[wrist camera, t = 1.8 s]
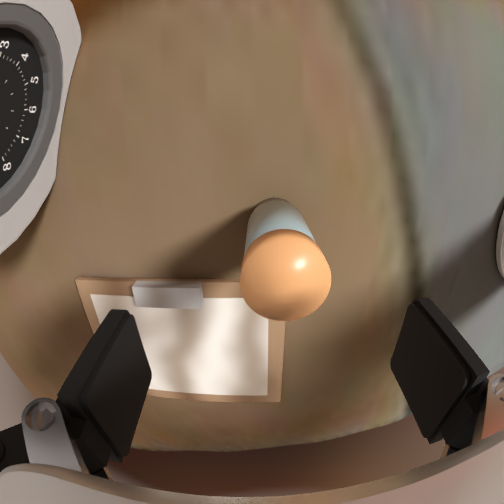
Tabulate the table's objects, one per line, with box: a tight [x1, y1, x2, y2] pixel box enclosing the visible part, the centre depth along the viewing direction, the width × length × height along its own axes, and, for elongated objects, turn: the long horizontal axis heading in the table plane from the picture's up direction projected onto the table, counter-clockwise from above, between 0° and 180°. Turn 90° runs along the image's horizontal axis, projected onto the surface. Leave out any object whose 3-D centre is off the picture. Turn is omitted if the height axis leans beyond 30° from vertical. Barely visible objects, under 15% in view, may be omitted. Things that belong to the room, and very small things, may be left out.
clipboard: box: [75, 277, 285, 402], centre depth 26 cm, size 20×16×2 cm
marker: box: [240, 198, 331, 321], centre depth 17 cm, size 4×4×10 cm
